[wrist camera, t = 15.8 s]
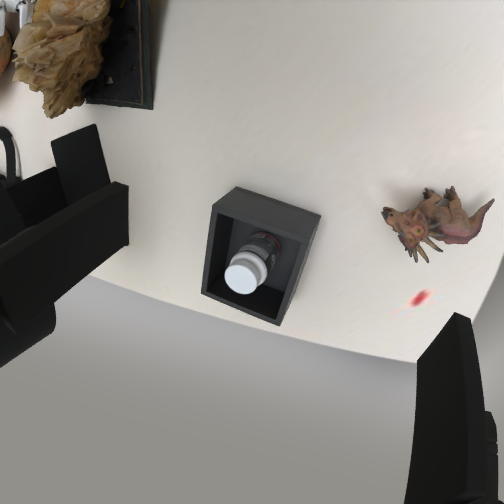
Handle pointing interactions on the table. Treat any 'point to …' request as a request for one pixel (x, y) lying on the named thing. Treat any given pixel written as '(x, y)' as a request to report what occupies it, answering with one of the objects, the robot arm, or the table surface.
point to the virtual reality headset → (9, 159)
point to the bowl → (5, 50)
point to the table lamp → (49, 214)
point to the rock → (86, 54)
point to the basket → (235, 236)
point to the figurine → (13, 1)
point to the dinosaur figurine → (435, 223)
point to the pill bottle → (252, 263)
